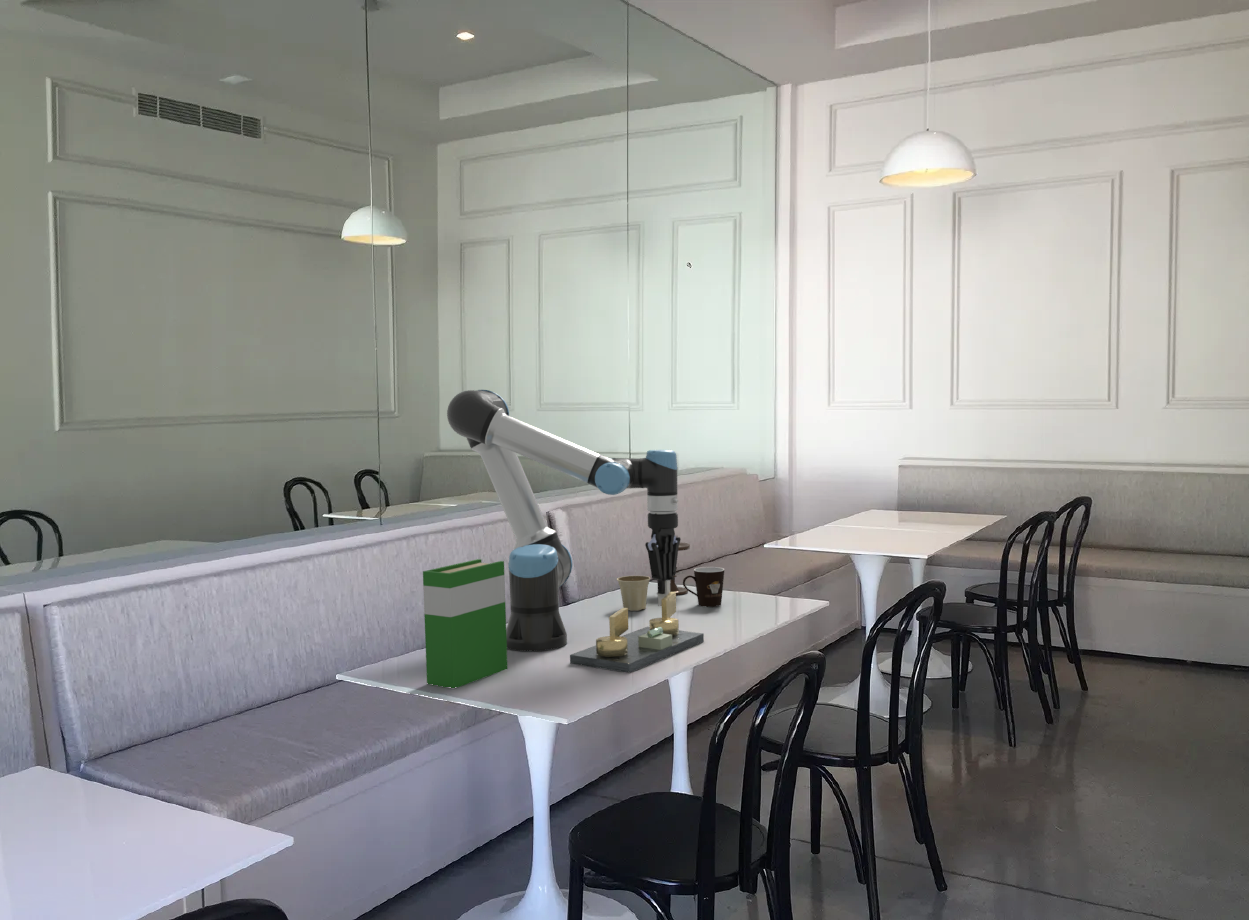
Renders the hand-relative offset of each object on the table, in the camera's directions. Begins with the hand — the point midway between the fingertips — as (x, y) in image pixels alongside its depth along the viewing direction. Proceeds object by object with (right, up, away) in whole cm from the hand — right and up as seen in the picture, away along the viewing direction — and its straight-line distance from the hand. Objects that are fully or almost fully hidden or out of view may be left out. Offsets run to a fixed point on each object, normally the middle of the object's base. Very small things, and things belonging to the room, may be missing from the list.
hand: (664, 606), depth 263 cm
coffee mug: (+13, -5, +34) cm, 37 cm away
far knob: (+1, -5, -6) cm, 8 cm away
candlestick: (+5, -4, +53) cm, 53 cm away
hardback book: (-44, -11, -36) cm, 57 cm away
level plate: (-7, -8, -18) cm, 21 cm away
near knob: (-12, -6, -24) cm, 28 cm away
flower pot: (-7, -5, +31) cm, 32 cm away
